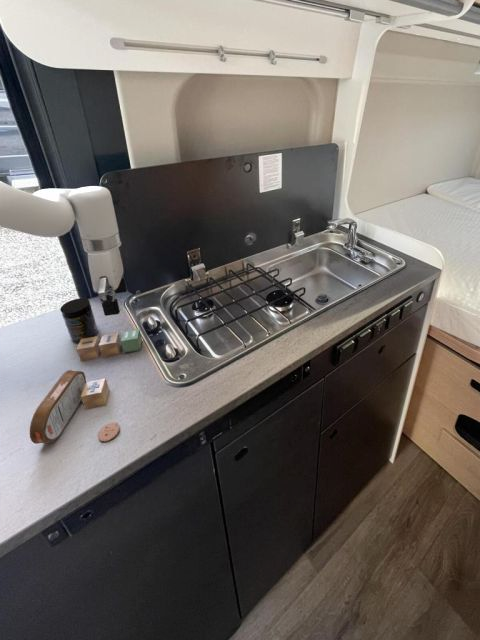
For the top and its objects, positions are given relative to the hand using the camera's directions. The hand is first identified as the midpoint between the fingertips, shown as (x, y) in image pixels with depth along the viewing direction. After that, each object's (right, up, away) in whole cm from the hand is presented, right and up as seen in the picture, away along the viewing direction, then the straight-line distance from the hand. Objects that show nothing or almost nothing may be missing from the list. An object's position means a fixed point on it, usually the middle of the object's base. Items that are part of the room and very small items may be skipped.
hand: (116, 302), depth 82 cm
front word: (0, -20, -8) cm, 22 cm away
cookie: (+7, -24, -15) cm, 29 cm away
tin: (-4, -22, -12) cm, 26 cm away
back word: (-4, -14, +5) cm, 15 cm away
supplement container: (-15, -12, +11) cm, 21 cm away
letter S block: (+1, -13, +7) cm, 15 cm away
